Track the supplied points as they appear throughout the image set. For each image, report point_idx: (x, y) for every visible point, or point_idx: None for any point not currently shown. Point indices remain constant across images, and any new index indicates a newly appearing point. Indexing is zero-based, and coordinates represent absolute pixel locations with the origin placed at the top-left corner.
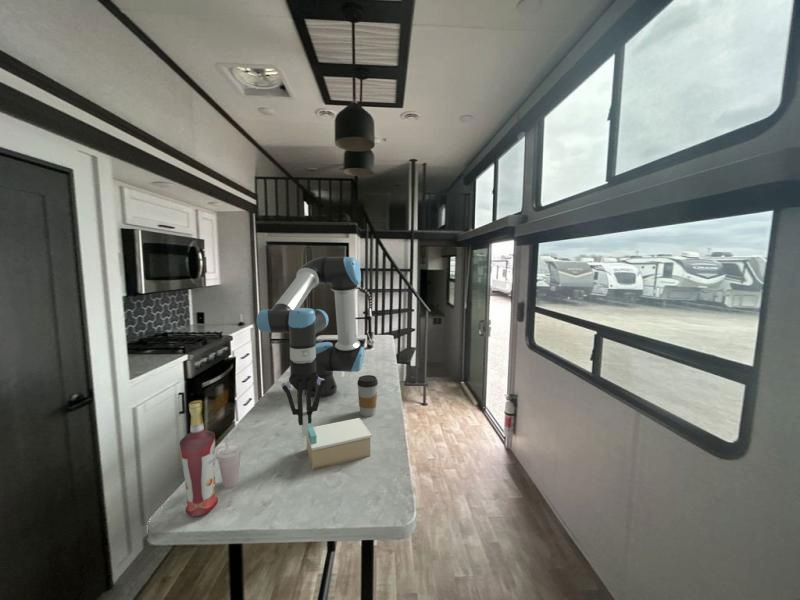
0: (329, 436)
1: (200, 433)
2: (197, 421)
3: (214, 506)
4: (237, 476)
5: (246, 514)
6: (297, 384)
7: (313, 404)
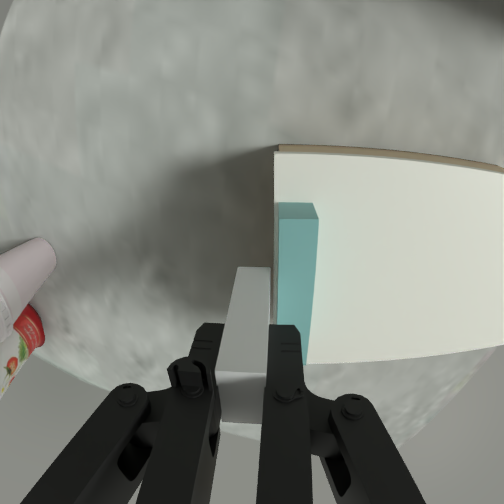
0: (382, 303)
1: None
2: None
3: (44, 340)
4: (44, 279)
5: (110, 370)
6: None
7: (344, 441)
